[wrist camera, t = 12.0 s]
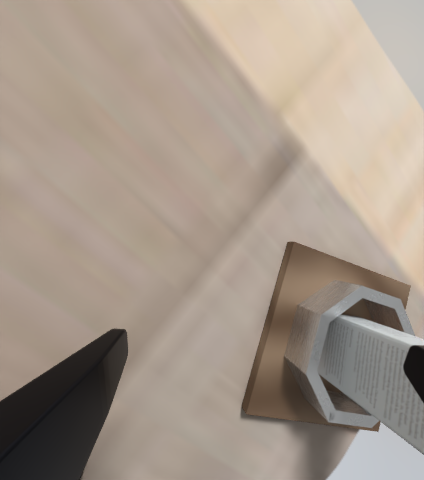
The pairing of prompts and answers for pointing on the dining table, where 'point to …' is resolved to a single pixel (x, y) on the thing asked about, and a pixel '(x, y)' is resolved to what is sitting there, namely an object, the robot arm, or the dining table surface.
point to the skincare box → (374, 373)
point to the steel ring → (313, 337)
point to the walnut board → (280, 323)
